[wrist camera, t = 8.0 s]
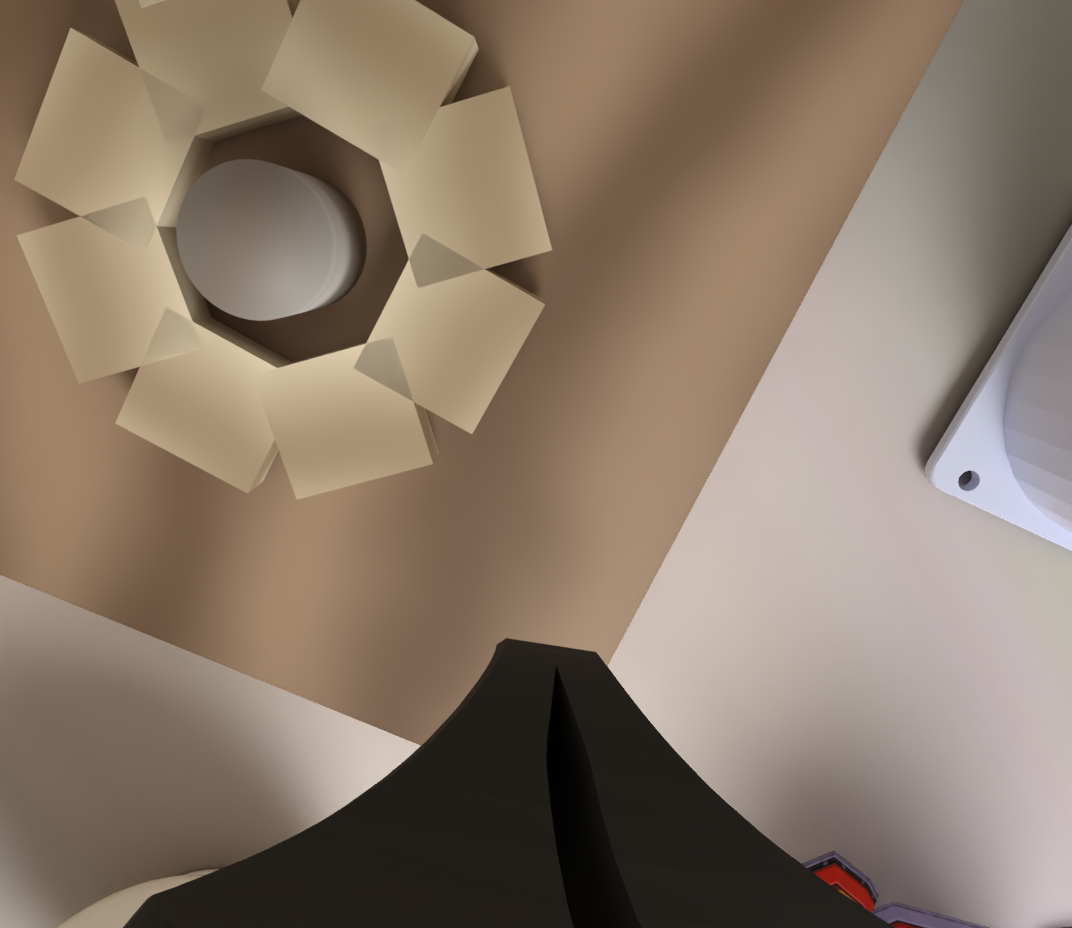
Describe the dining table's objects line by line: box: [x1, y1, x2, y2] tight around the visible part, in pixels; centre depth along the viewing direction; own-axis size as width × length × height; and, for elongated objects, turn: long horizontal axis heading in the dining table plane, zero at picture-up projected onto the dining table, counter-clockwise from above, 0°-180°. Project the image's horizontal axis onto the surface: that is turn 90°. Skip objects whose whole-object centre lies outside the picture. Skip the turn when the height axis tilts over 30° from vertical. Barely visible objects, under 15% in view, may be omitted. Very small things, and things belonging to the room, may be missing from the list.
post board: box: [0, 0, 963, 746], centre depth 17 cm, size 22×22×4 cm
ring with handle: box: [14, 0, 552, 499], centre depth 15 cm, size 15×11×5 cm
